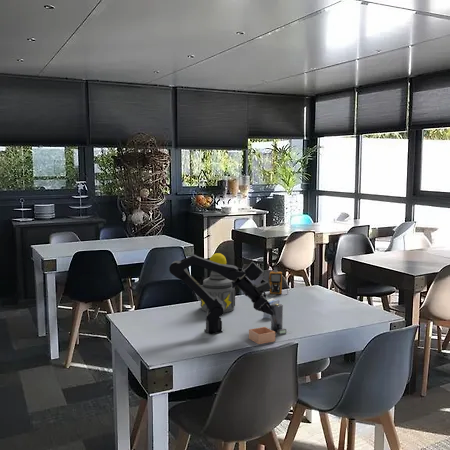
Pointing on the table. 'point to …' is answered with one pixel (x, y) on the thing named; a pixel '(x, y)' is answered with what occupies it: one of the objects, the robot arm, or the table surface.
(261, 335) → the cup
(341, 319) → the table surface
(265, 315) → the medicine box
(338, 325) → the table surface
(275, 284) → the multimeter
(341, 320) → the table surface
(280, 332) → the checker pad
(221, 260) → the decorative lamp
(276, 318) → the cell
